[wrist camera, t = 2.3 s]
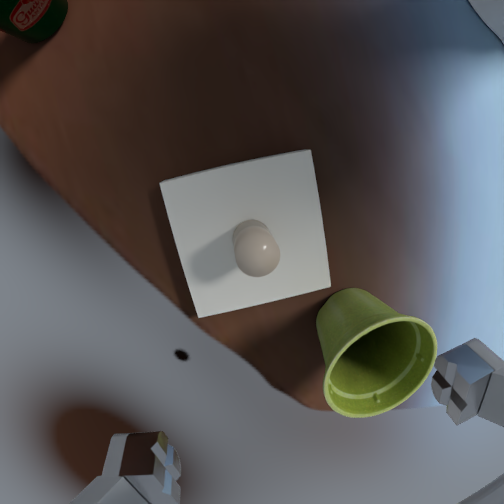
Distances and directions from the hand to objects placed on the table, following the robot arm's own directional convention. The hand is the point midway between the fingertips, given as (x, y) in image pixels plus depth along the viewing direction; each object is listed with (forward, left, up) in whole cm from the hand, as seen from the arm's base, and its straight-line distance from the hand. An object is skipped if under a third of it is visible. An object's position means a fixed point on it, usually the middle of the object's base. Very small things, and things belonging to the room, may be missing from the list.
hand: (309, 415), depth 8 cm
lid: (0, 0, -18) cm, 18 cm away
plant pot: (-7, +10, -19) cm, 22 cm away
